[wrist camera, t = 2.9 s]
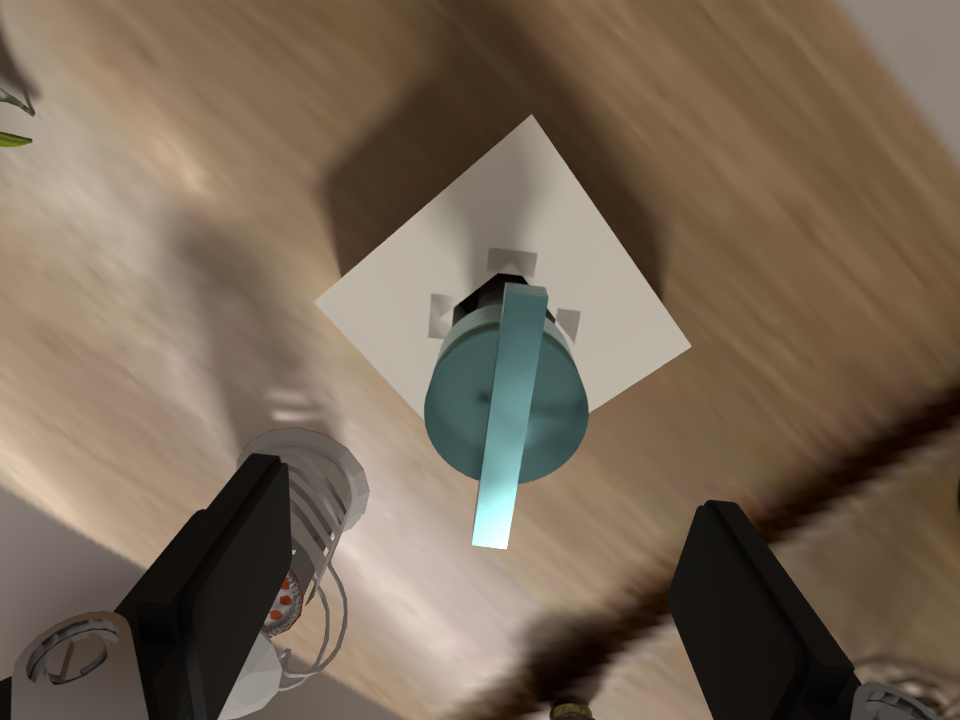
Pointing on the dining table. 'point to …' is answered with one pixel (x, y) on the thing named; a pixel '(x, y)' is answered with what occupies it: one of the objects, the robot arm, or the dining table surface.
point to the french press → (301, 552)
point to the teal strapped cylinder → (505, 400)
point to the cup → (570, 710)
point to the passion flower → (11, 139)
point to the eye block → (510, 250)
